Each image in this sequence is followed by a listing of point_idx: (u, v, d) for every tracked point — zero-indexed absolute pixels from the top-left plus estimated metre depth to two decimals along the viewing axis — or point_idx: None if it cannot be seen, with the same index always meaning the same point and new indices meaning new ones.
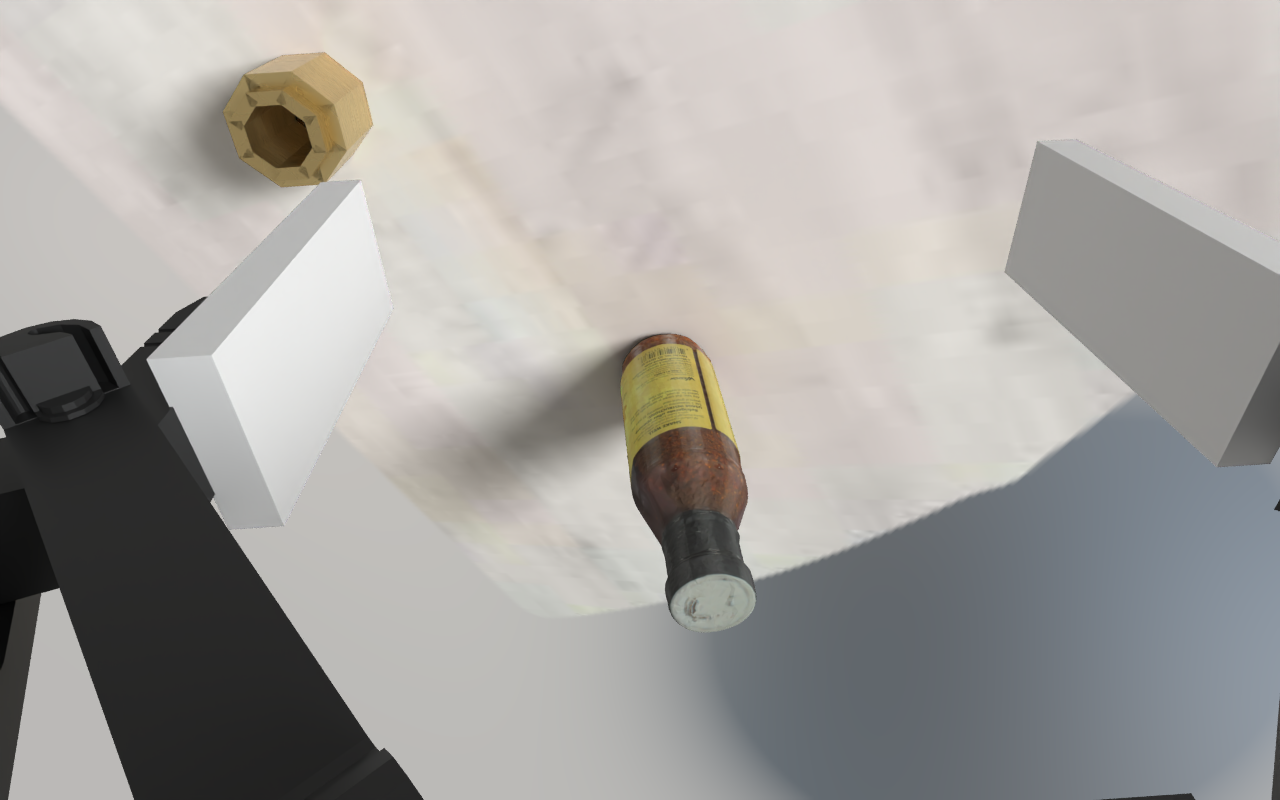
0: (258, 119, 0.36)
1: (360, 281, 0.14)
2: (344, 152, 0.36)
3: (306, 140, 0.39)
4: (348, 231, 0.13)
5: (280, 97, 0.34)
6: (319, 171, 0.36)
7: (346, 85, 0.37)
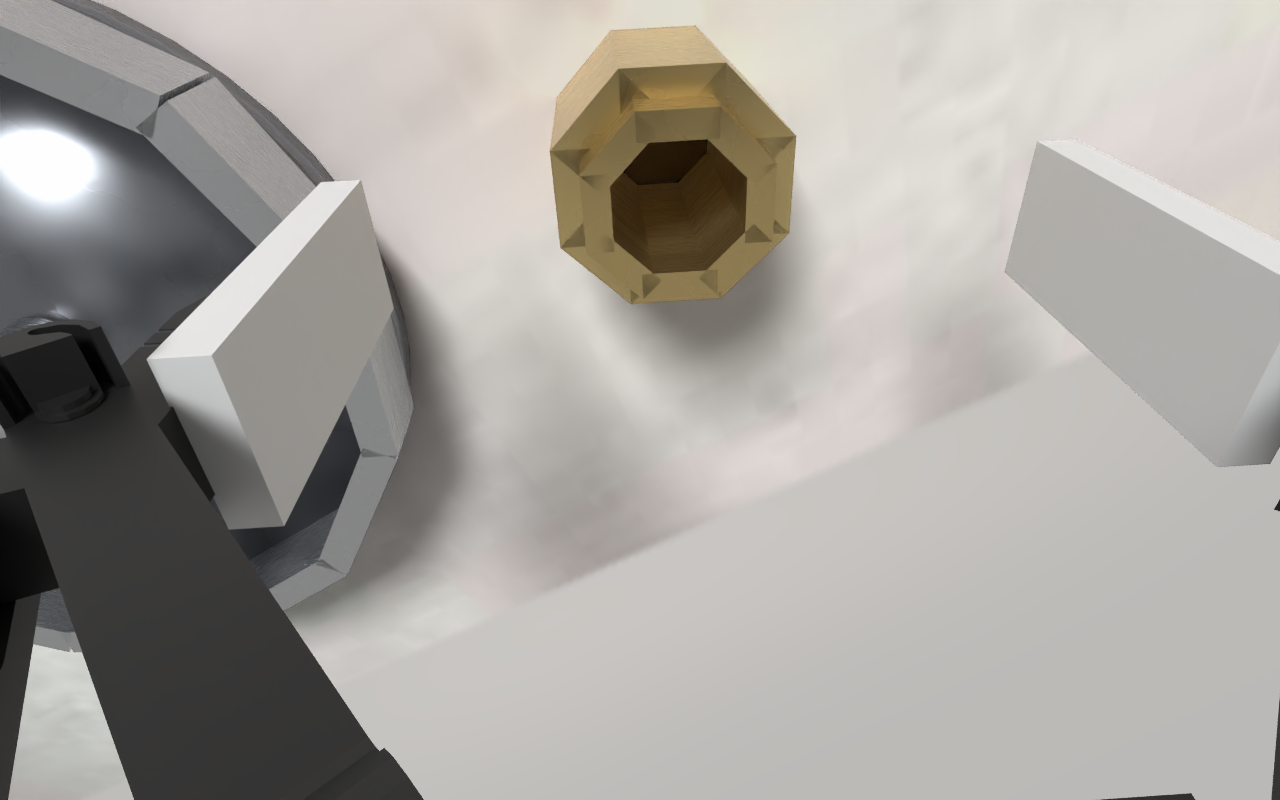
0: (652, 243, 0.18)
1: (360, 281, 0.14)
2: (729, 69, 0.15)
3: (711, 168, 0.20)
4: (348, 231, 0.13)
5: (594, 183, 0.15)
6: (766, 141, 0.16)
7: (604, 54, 0.17)
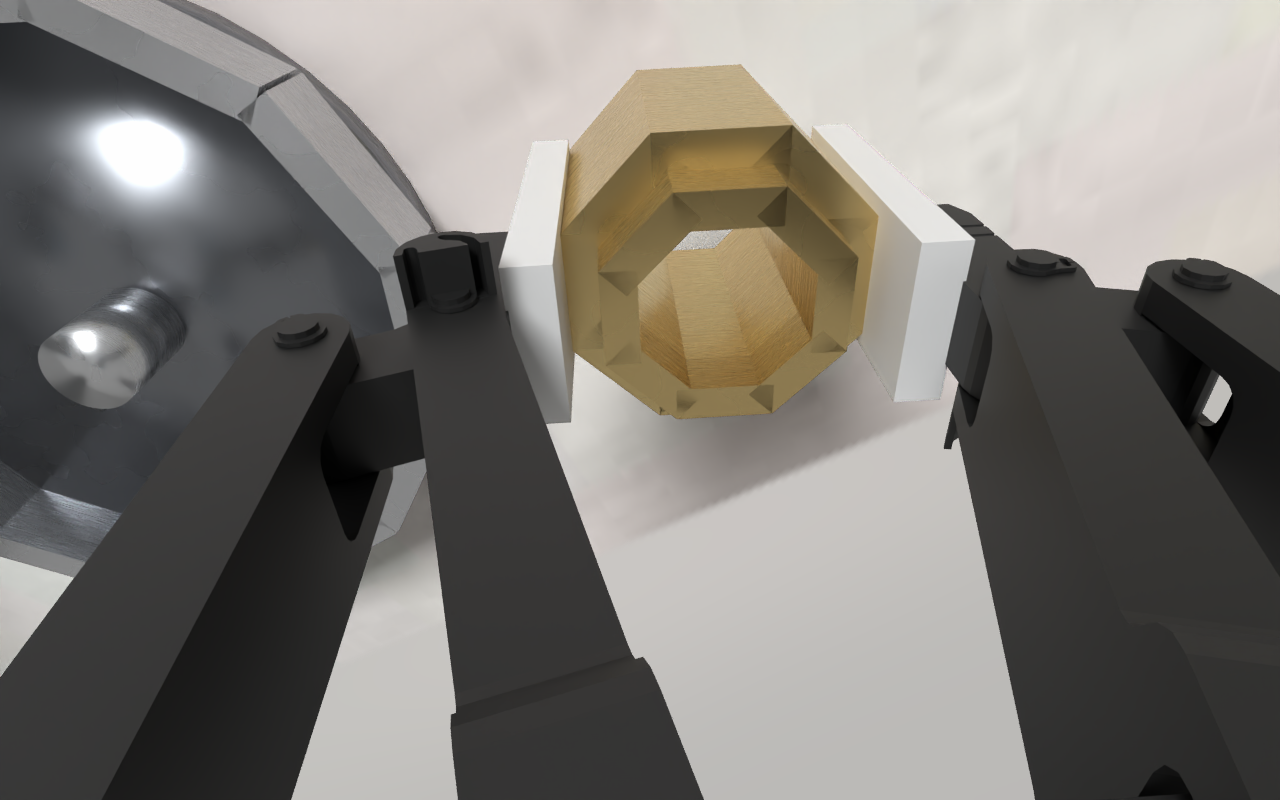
0: (687, 339, 0.14)
1: None
2: (796, 134, 0.11)
3: (757, 236, 0.16)
4: None
5: (617, 282, 0.11)
6: (840, 223, 0.12)
7: (629, 103, 0.14)
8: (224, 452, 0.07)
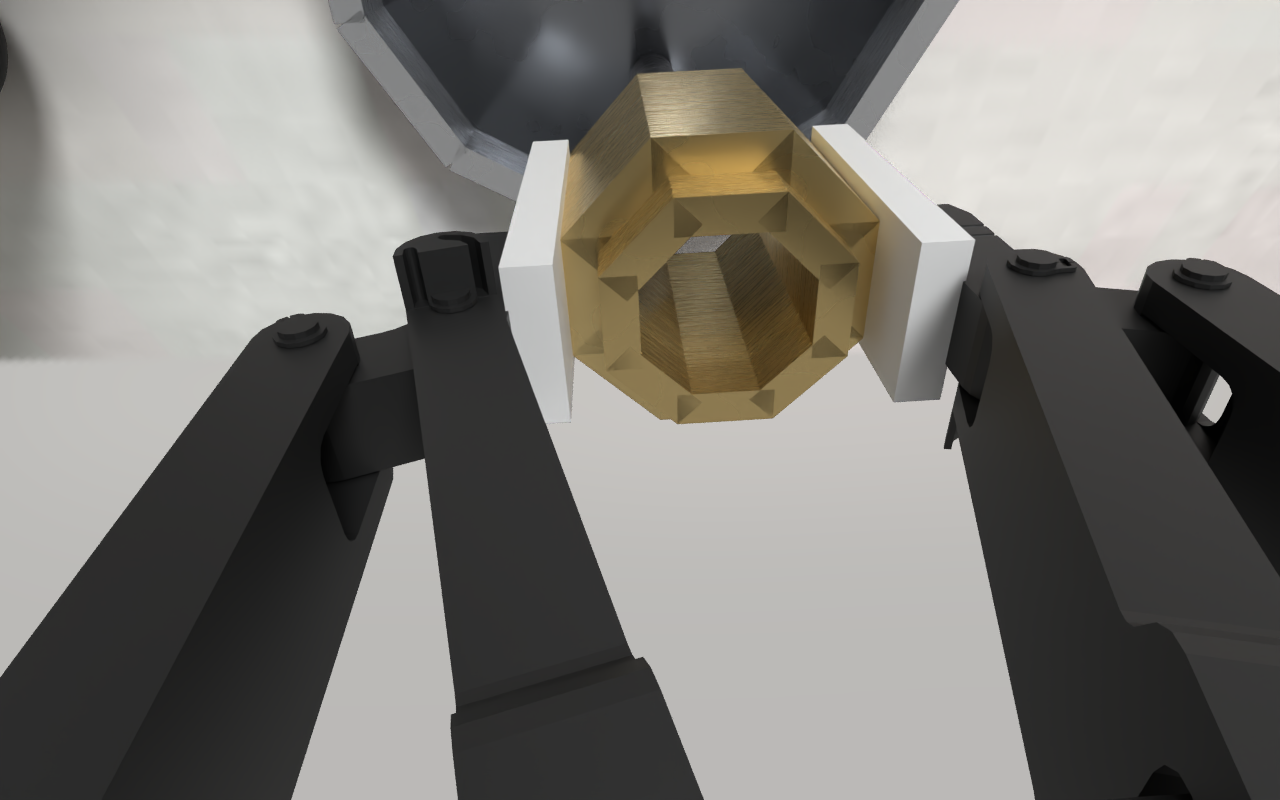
0: (687, 344, 0.14)
1: None
2: (797, 138, 0.11)
3: (757, 240, 0.16)
4: None
5: (617, 287, 0.11)
6: (841, 227, 0.12)
7: (629, 107, 0.14)
8: (224, 452, 0.07)
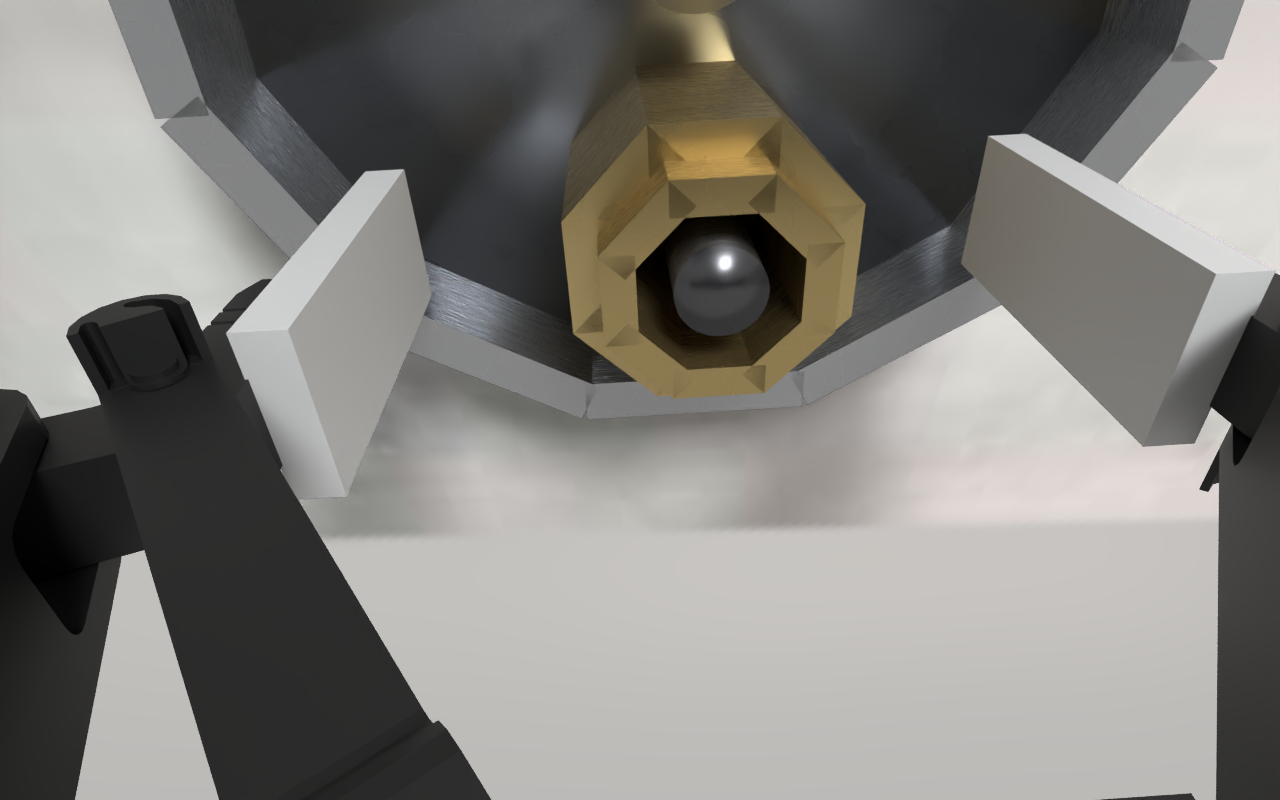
0: (683, 324, 0.15)
1: (404, 267, 0.14)
2: (786, 125, 0.12)
3: (751, 226, 0.17)
4: (394, 218, 0.14)
5: (616, 266, 0.12)
6: (828, 210, 0.13)
7: (627, 97, 0.14)
8: None
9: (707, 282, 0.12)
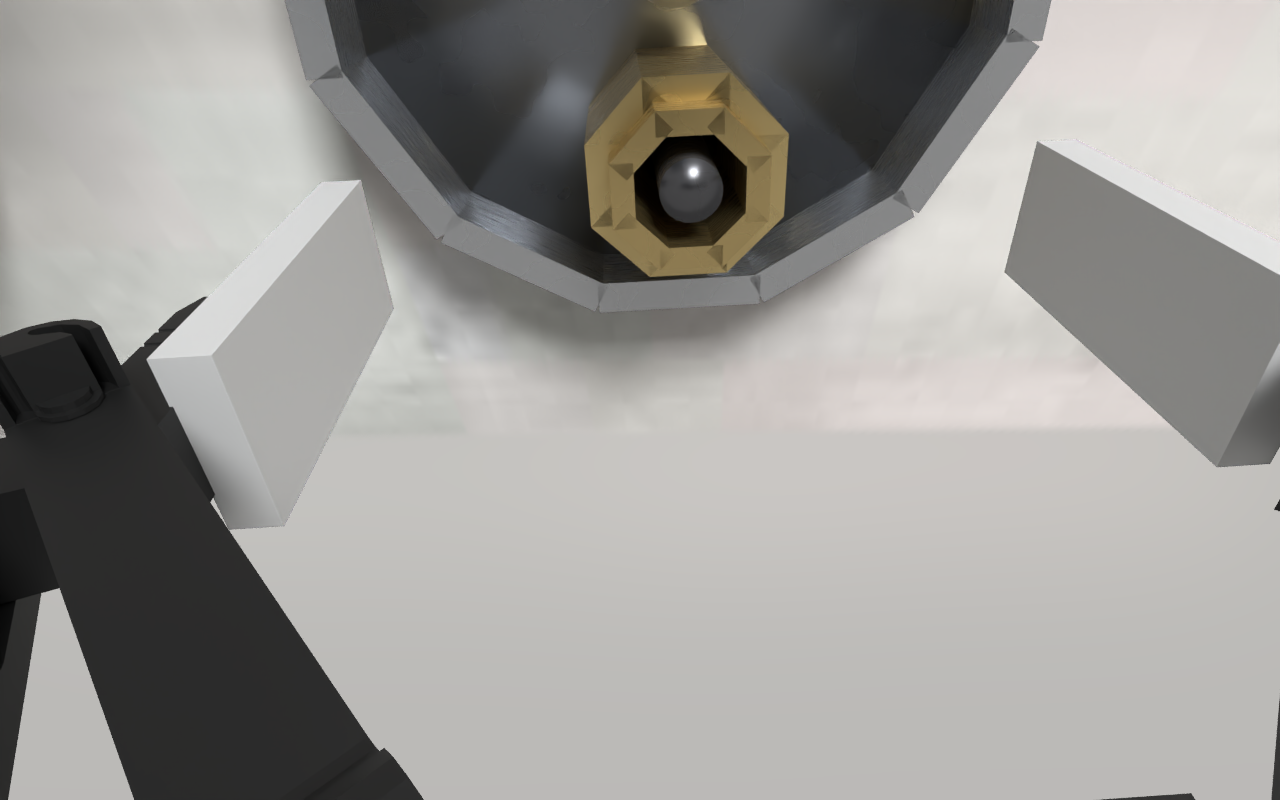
0: (668, 225, 0.21)
1: (360, 281, 0.14)
2: (732, 78, 0.18)
3: (720, 165, 0.23)
4: (348, 232, 0.13)
5: (620, 170, 0.18)
6: (763, 138, 0.19)
7: (629, 67, 0.21)
8: None
9: (681, 183, 0.18)
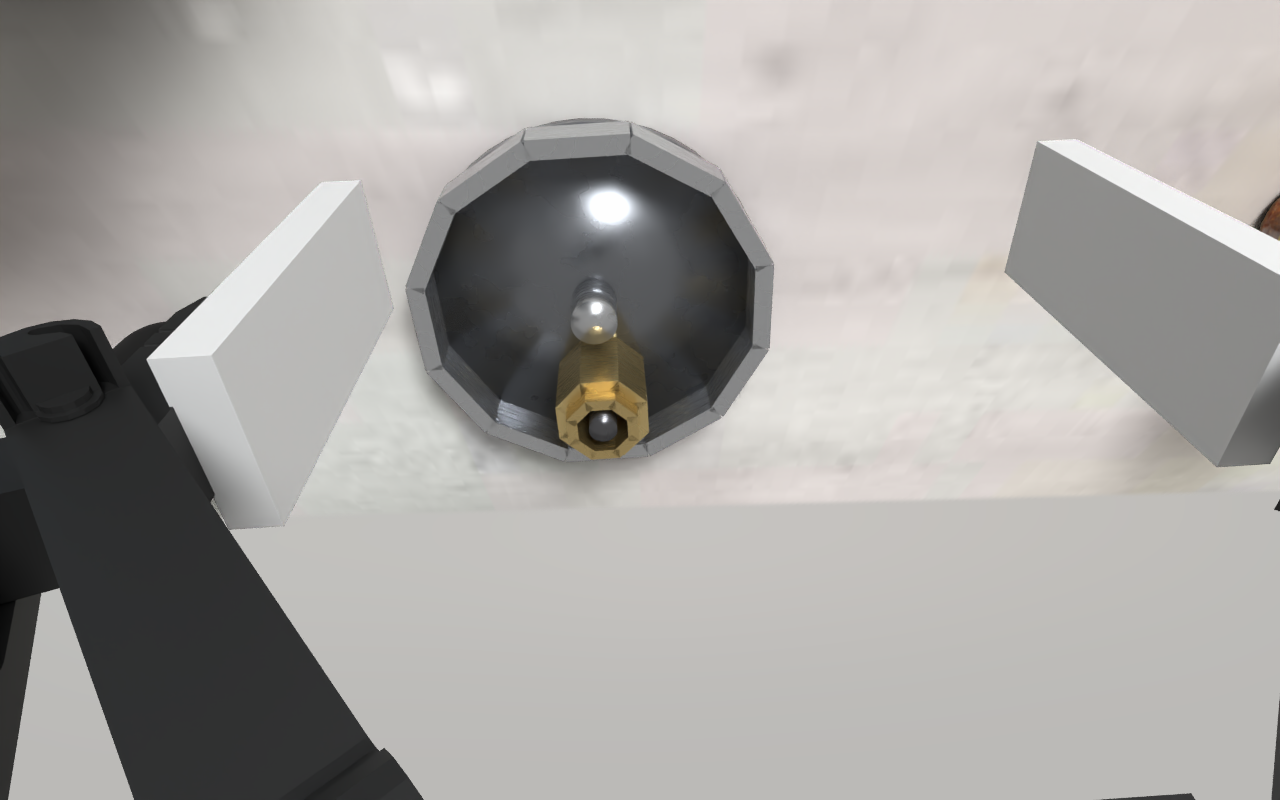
0: None
1: (360, 281, 0.14)
2: (620, 382, 0.41)
3: None
4: (348, 231, 0.13)
5: (571, 423, 0.41)
6: (636, 403, 0.42)
7: (577, 358, 0.44)
8: None
9: (598, 427, 0.42)
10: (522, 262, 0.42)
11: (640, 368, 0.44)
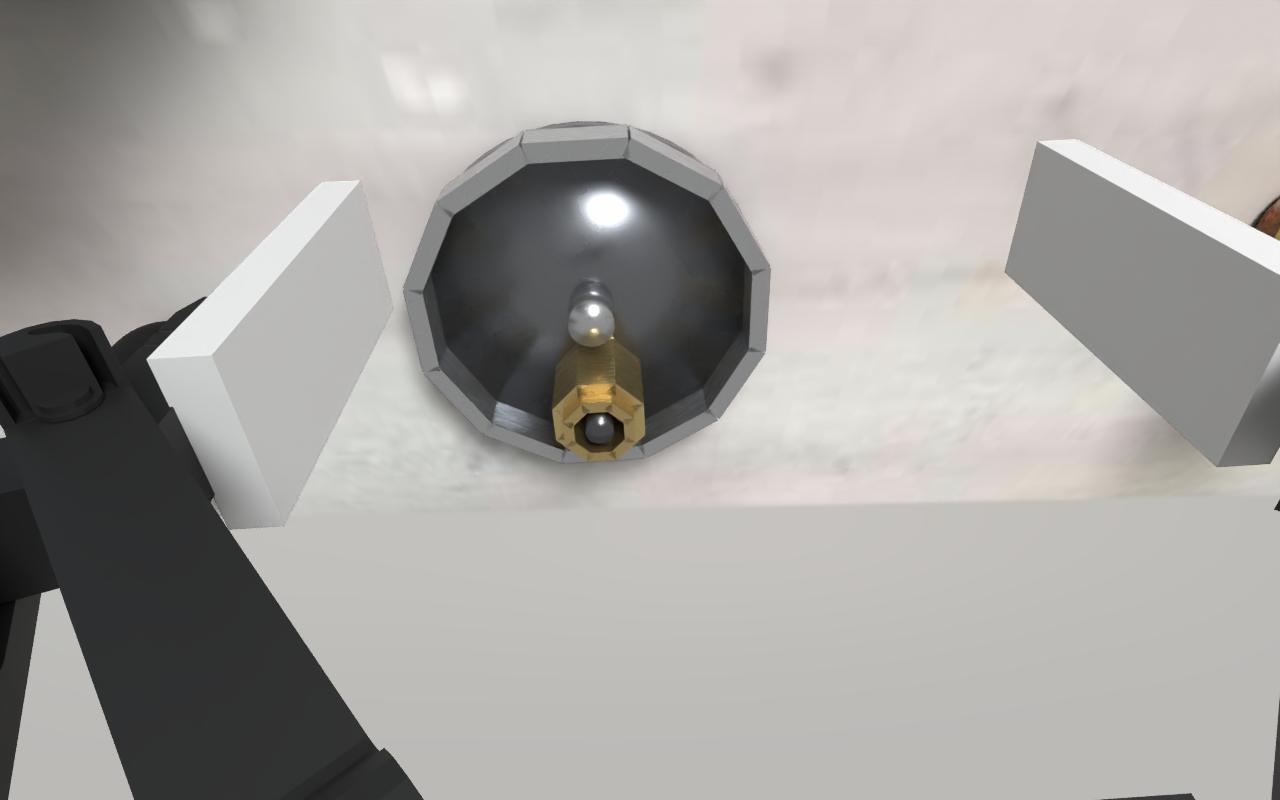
0: None
1: (360, 281, 0.14)
2: (616, 385, 0.41)
3: None
4: (348, 231, 0.13)
5: (568, 425, 0.41)
6: (632, 405, 0.42)
7: (574, 360, 0.44)
8: None
9: (595, 429, 0.42)
10: (520, 264, 0.42)
11: (637, 370, 0.45)
